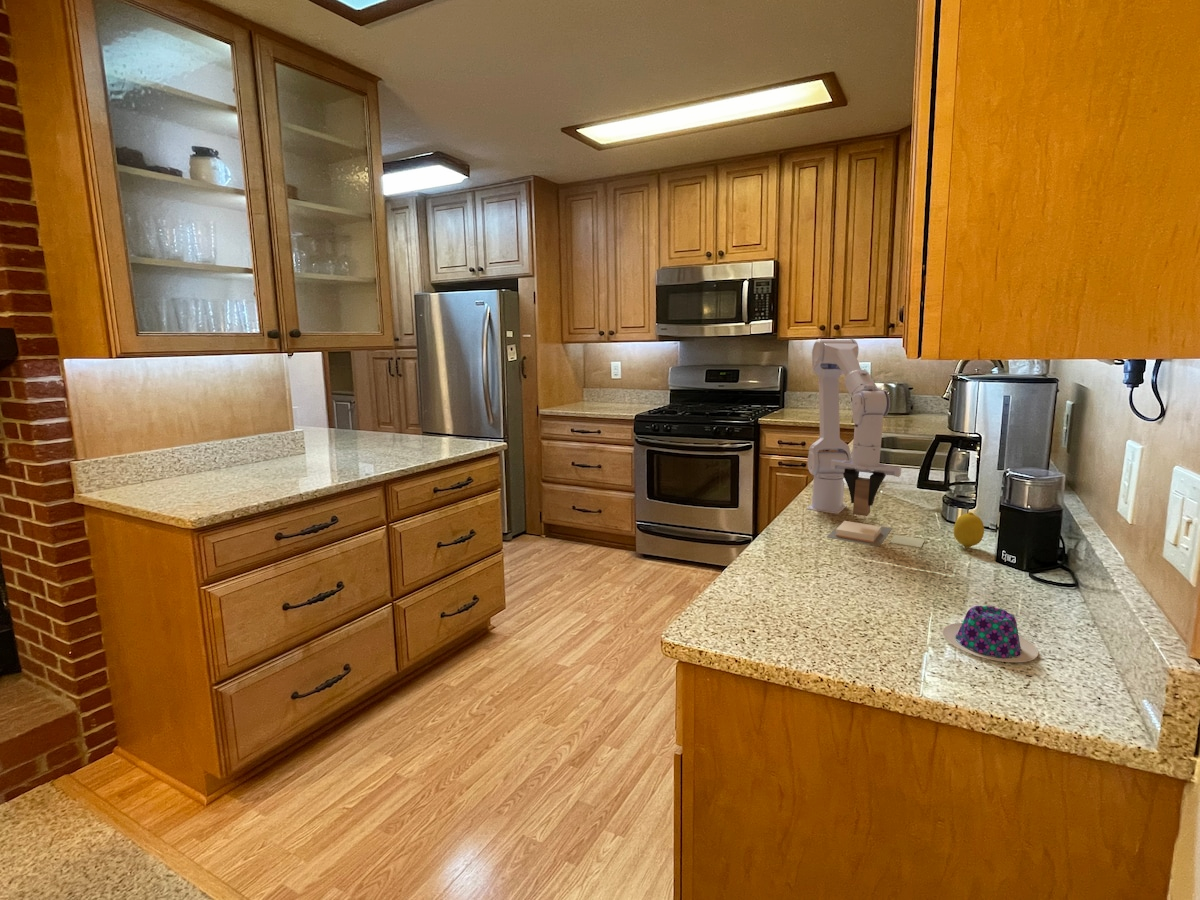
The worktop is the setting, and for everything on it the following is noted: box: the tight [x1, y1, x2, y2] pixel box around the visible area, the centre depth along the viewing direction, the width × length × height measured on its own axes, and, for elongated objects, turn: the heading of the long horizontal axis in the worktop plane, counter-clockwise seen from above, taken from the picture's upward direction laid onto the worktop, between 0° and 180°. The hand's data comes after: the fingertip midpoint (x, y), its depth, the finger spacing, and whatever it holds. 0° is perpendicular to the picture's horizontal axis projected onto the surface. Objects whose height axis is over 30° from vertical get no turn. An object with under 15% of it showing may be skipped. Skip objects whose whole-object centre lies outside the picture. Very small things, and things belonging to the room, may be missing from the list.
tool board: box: [890, 534, 926, 549], centre depth 135 cm, size 6×6×1 cm
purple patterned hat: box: [941, 605, 1039, 663], centre depth 90 cm, size 12×12×5 cm
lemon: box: [953, 511, 985, 549], centre depth 132 cm, size 6×6×8 cm
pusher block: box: [852, 476, 871, 517], centre depth 140 cm, size 3×3×8 cm
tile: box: [836, 520, 882, 543], centre depth 140 cm, size 2×8×8 cm
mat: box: [826, 519, 893, 547], centre depth 142 cm, size 16×11×1 cm
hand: (862, 503), depth 140 cm, fingers closed on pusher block, 3 cm apart
